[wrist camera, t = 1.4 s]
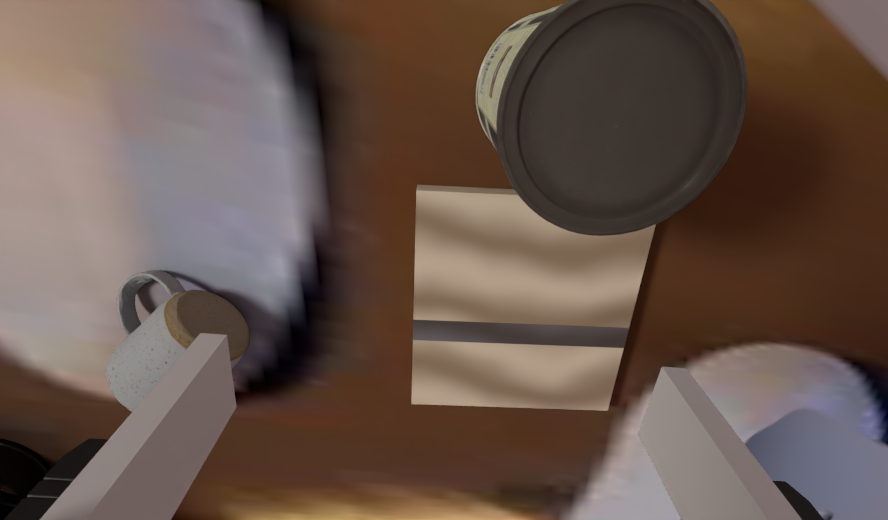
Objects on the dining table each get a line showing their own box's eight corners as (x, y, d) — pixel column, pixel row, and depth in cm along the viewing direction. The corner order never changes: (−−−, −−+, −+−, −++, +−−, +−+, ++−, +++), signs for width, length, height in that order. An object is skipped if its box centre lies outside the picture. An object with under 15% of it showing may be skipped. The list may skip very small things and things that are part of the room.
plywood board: (417, 184, 34) (416, 190, 33) (653, 195, 35) (662, 201, 33) (412, 392, 43) (411, 404, 41) (602, 399, 43) (607, 410, 42)
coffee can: (618, 159, 34) (726, 227, 21) (479, 171, 34) (501, 245, 21) (630, 0, 29) (775, -37, 17) (470, 16, 30) (492, -9, 17)
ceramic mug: (269, 322, 40) (231, 380, 33) (216, 376, 42) (170, 440, 35) (161, 242, 37) (94, 286, 30) (111, 304, 39) (37, 359, 32)
